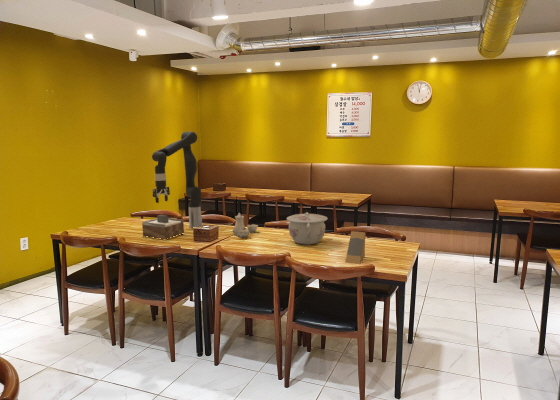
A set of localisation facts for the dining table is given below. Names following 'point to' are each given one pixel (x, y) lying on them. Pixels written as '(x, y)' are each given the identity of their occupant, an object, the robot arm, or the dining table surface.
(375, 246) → the dining table surface
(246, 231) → the chinaware
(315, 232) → the chamber pot
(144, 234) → the box
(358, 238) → the sandwich container
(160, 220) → the lid
